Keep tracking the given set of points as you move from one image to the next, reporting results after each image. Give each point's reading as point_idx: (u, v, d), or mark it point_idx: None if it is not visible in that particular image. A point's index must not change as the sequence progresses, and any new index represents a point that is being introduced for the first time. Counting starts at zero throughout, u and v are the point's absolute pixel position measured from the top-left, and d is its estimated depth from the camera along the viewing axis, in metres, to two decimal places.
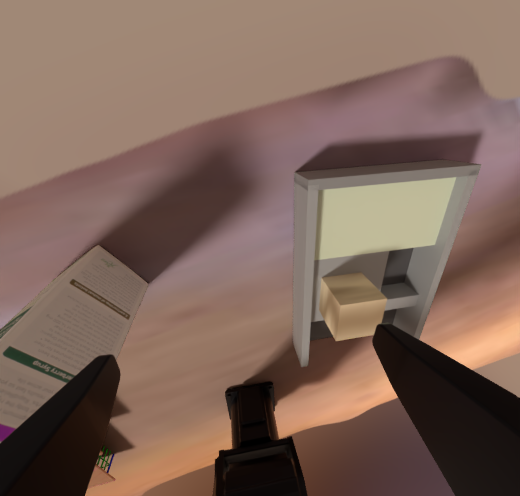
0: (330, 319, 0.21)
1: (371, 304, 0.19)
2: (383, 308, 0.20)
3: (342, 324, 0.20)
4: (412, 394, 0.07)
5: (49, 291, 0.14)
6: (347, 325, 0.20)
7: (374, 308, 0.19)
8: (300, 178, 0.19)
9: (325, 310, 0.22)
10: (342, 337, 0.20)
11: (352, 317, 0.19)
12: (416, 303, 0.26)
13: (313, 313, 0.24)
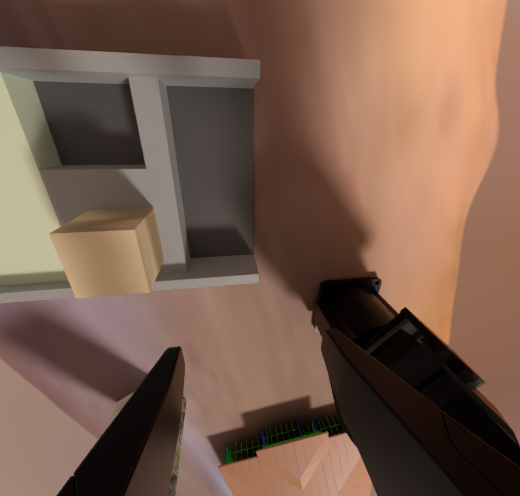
0: None
1: (66, 256, 0.12)
2: (71, 234, 0.12)
3: (114, 290, 0.14)
4: (349, 404, 0.07)
5: None
6: (114, 282, 0.13)
7: (74, 250, 0.12)
8: None
9: None
10: (142, 285, 0.14)
11: (97, 278, 0.13)
12: (149, 79, 0.13)
13: (169, 266, 0.18)
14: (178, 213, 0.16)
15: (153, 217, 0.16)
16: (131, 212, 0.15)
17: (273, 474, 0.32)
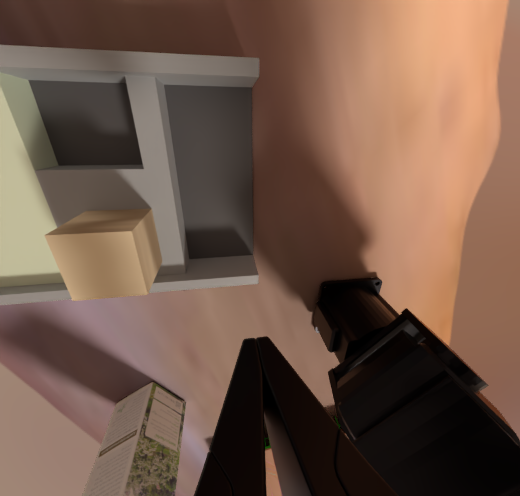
0: None
1: (62, 258, 0.12)
2: (67, 236, 0.12)
3: (111, 292, 0.13)
4: (268, 417, 0.06)
5: (89, 477, 0.21)
6: (112, 284, 0.13)
7: (70, 251, 0.12)
8: None
9: None
10: (139, 287, 0.13)
11: (93, 281, 0.13)
12: (146, 77, 0.12)
13: (168, 267, 0.18)
14: (176, 214, 0.16)
15: (151, 218, 0.15)
16: (129, 213, 0.15)
17: (270, 476, 0.32)
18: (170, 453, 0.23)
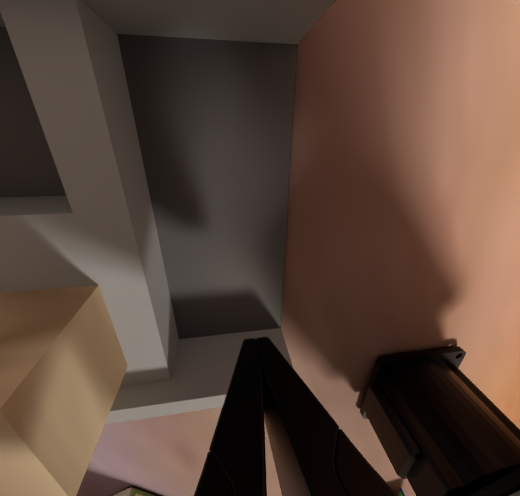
0: None
1: None
2: None
3: None
4: (268, 417, 0.06)
5: None
6: None
7: None
8: None
9: None
10: None
11: None
12: None
13: (138, 373, 0.10)
14: (150, 290, 0.08)
15: (96, 307, 0.08)
16: (43, 305, 0.07)
17: None
18: None
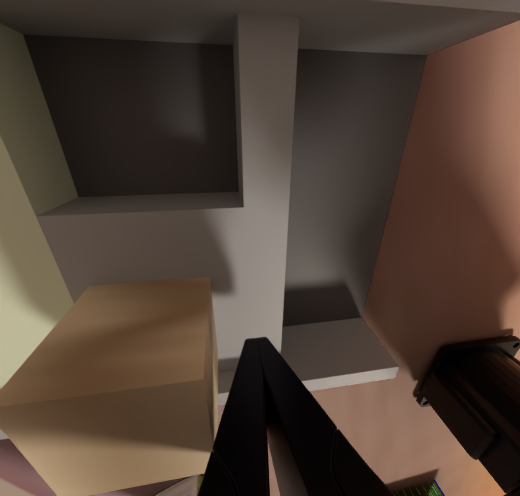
0: None
1: (35, 443, 0.05)
2: (46, 404, 0.05)
3: (145, 477, 0.06)
4: (266, 418, 0.06)
5: None
6: (146, 468, 0.06)
7: (54, 430, 0.05)
8: None
9: None
10: (204, 463, 0.06)
11: (108, 467, 0.06)
12: (283, 18, 0.06)
13: None
14: None
15: (210, 296, 0.08)
16: (173, 293, 0.08)
17: None
18: None
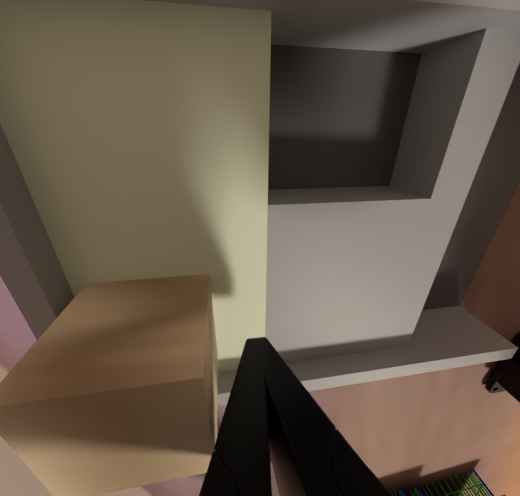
0: None
1: (30, 443, 0.05)
2: (41, 404, 0.04)
3: (144, 479, 0.06)
4: None
5: None
6: (145, 467, 0.06)
7: (50, 430, 0.05)
8: None
9: None
10: (203, 463, 0.06)
11: (106, 468, 0.06)
12: None
13: (390, 339, 0.12)
14: None
15: (210, 294, 0.08)
16: (171, 291, 0.07)
17: None
18: None
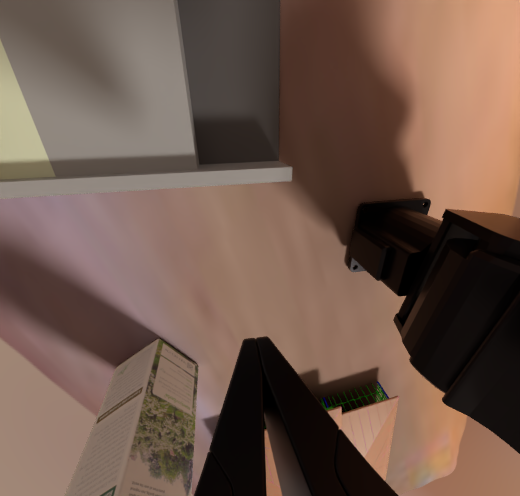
0: None
1: None
2: None
3: None
4: (268, 417, 0.06)
5: None
6: None
7: None
8: None
9: None
10: None
11: None
12: None
13: (173, 158, 0.13)
14: (183, 72, 0.12)
15: None
16: None
17: None
18: (184, 416, 0.19)
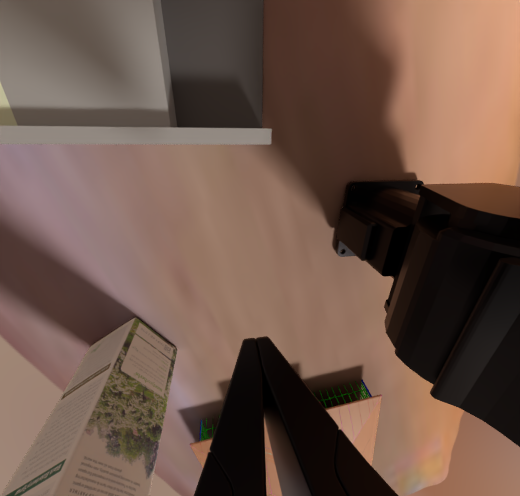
0: None
1: None
2: None
3: None
4: (268, 417, 0.06)
5: (46, 422, 0.16)
6: None
7: None
8: None
9: None
10: None
11: None
12: None
13: (145, 113, 0.13)
14: (155, 17, 0.11)
15: None
16: None
17: None
18: (154, 397, 0.18)
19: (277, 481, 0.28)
